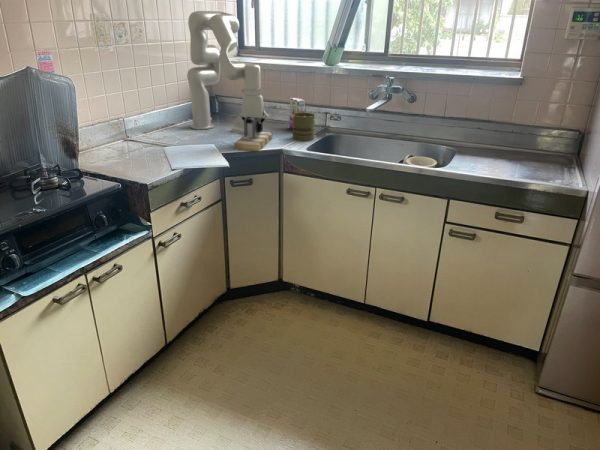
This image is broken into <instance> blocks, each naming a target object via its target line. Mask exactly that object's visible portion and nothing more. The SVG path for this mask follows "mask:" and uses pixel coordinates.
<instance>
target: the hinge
mask: <svg viewBox="0 0 600 450" xmlns="http://www.w3.org/2000/svg"><path fill="white" fill-rule="evenodd" d="M230 131H231V133H232V132H233V133H235V134H236V133H237V134H242V135H244V121H243V120H242V118H240V117H239V116H236V118H235V122H234V124H233V127H232V128H231V130H230Z"/></svg>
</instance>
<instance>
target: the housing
mask: <svg viewBox="0 0 600 450" xmlns="http://www.w3.org/2000/svg"><path fill="white" fill-rule="evenodd" d="M263 118H264V116H262V119H263ZM258 123H259V122H258V118H246V119H244V134H243V136H244V137H253V138H255V137H256V136H257V135H259V134H260V133H261V132H264V122H263V123H262V130H261V132H258Z"/></svg>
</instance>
